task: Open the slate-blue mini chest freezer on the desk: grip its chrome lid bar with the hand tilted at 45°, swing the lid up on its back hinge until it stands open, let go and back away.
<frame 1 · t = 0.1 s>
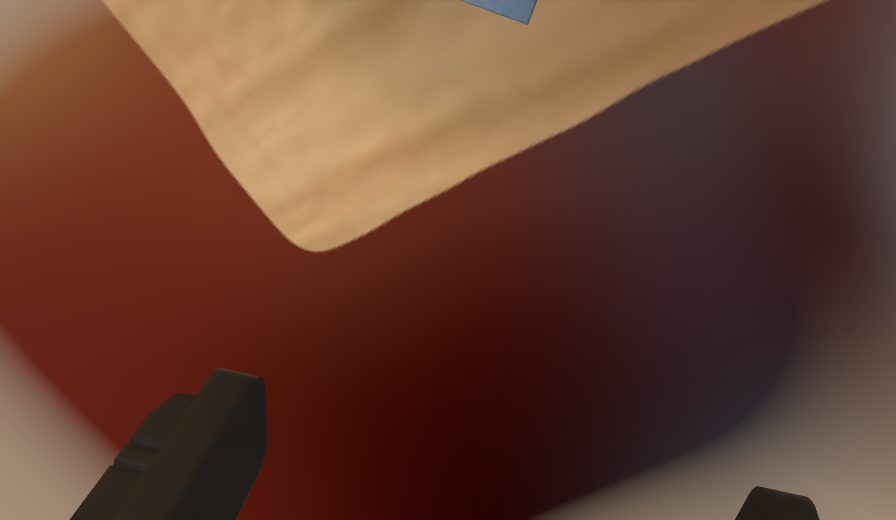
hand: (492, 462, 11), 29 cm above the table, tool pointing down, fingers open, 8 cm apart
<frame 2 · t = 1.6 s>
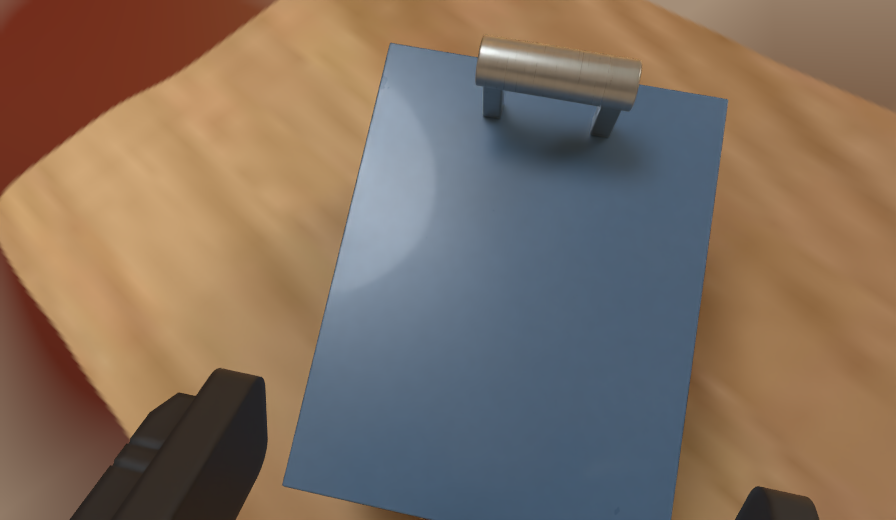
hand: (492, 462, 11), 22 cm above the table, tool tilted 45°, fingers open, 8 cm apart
freezer lid: (517, 274, 22), point 12 cm above the table, hinge at 0.0°
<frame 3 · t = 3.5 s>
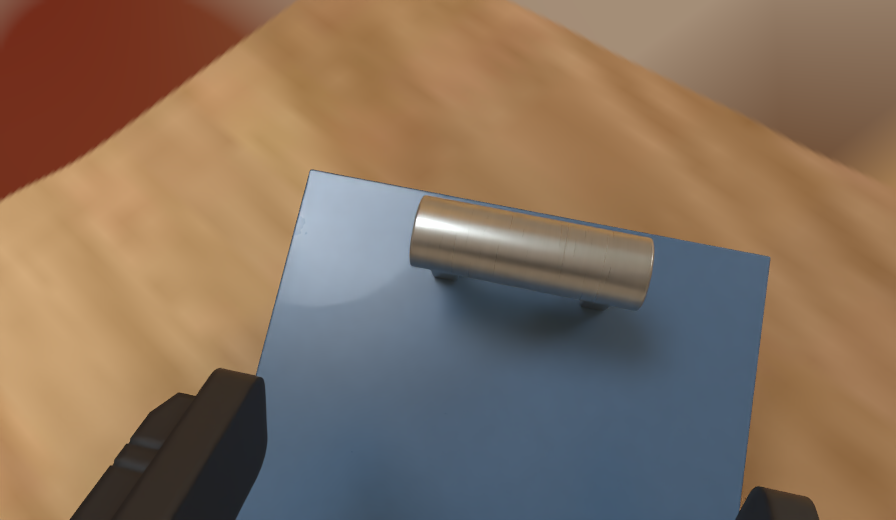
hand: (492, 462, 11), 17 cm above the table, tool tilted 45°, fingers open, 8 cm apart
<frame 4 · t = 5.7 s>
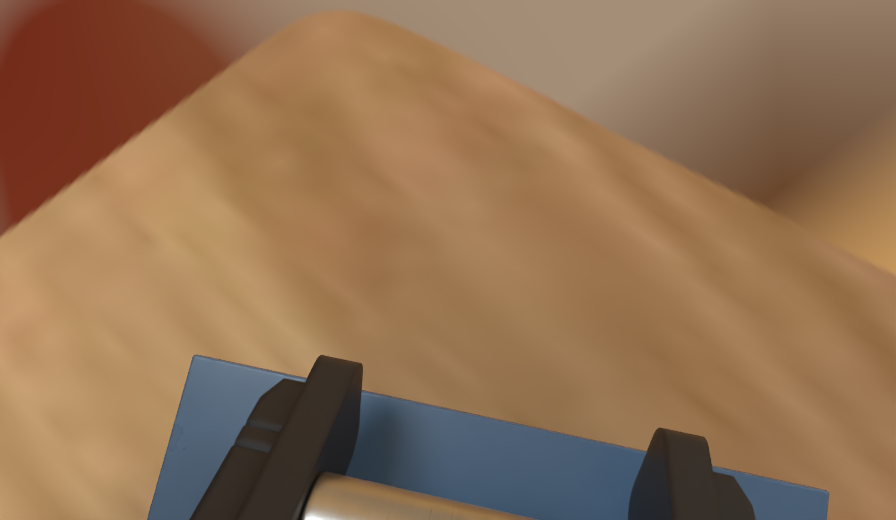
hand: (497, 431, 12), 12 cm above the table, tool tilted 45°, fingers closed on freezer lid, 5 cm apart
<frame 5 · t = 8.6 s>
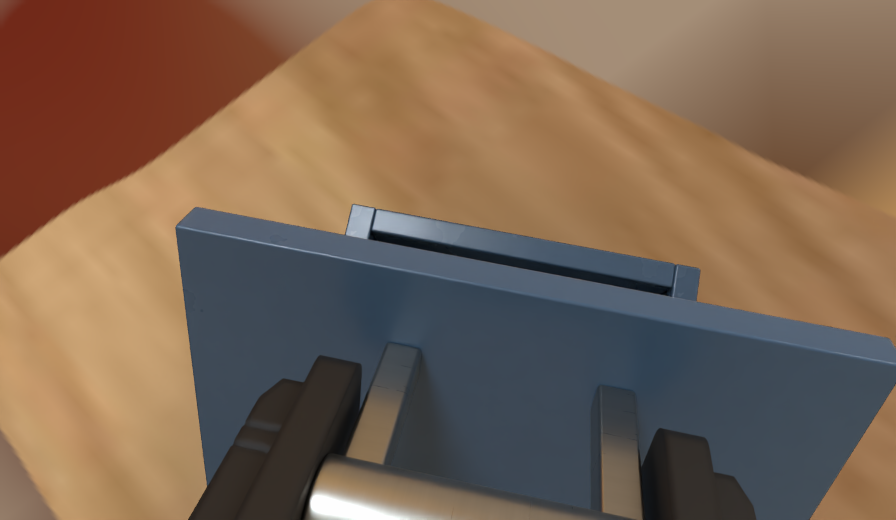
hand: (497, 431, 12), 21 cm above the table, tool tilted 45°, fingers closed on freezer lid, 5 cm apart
freezer: (480, 444, 33), on the table
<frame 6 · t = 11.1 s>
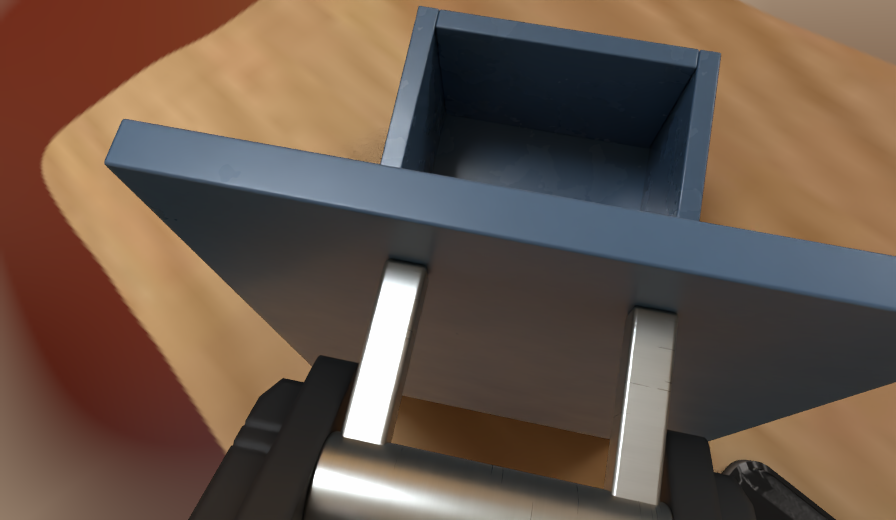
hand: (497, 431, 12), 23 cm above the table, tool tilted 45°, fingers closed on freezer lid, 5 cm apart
freezer: (521, 260, 36), on the table
freezer lid: (493, 441, 17), point 18 cm above the table, hinge at 83.1°, touching gripper
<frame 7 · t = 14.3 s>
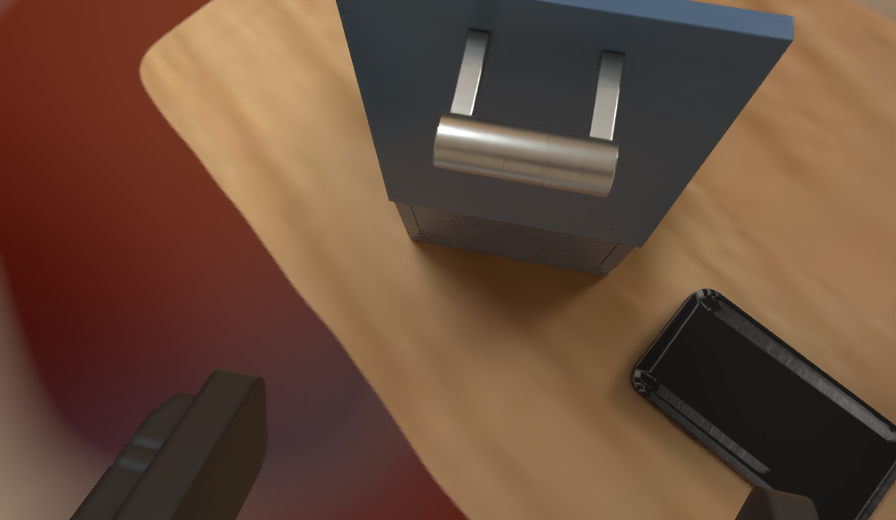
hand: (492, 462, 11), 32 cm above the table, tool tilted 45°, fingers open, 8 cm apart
phone: (761, 412, 42), on the table
freezer: (529, 143, 46), on the table
freezer lid: (519, 188, 26), point 18 cm above the table, hinge at 83.6°
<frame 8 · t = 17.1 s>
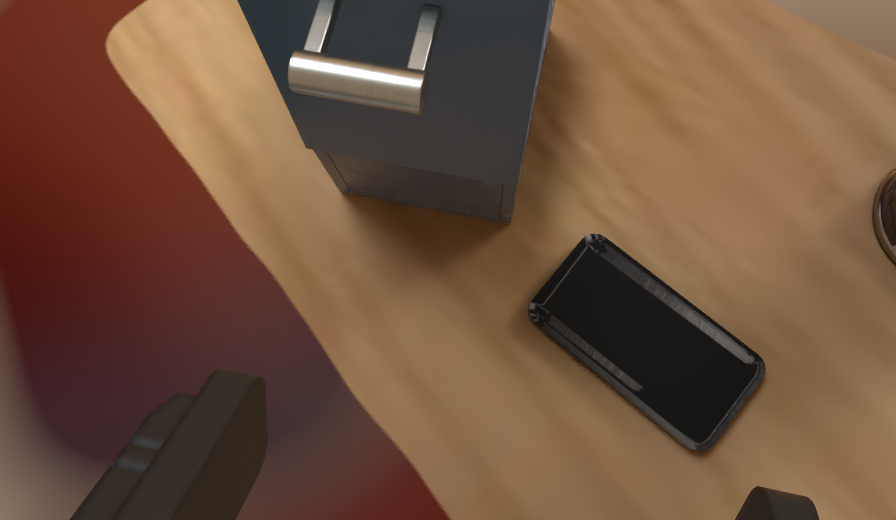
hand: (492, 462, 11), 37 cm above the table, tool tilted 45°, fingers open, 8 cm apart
phone: (640, 340, 48), on the table
freezer: (446, 109, 52), on the table
freezer lid: (388, 124, 32), point 18 cm above the table, hinge at 83.6°
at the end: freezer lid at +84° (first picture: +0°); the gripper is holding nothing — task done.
